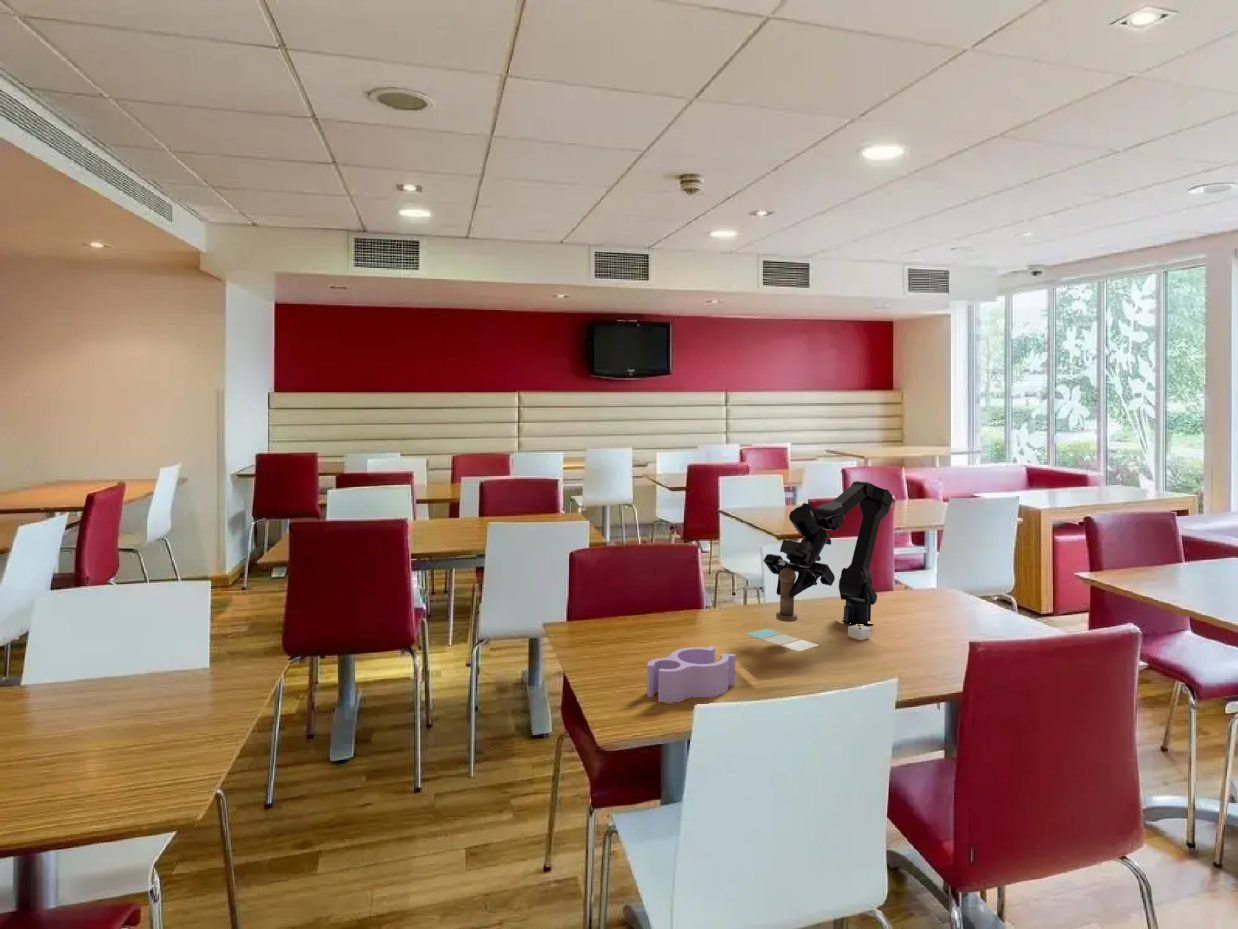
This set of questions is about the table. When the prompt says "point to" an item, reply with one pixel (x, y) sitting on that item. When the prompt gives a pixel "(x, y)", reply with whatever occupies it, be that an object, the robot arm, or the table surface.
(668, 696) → the clip
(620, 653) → the table surface
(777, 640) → the board
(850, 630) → the die
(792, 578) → the pawn
